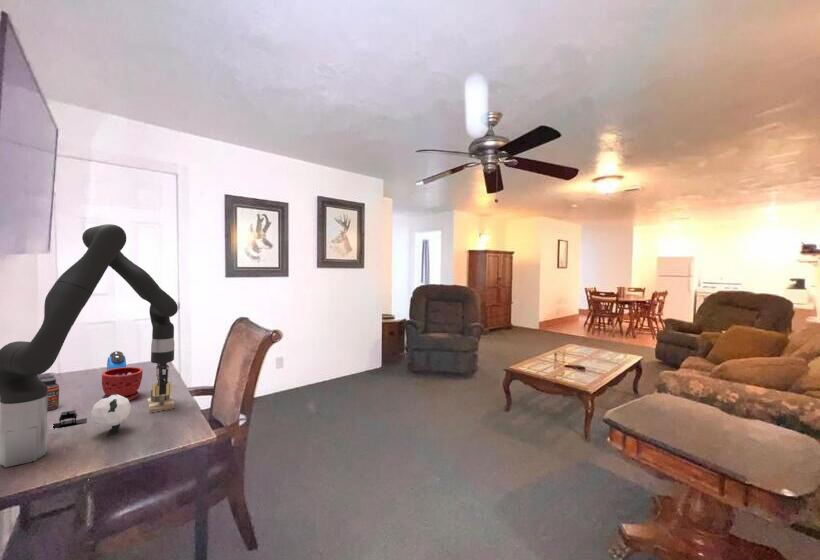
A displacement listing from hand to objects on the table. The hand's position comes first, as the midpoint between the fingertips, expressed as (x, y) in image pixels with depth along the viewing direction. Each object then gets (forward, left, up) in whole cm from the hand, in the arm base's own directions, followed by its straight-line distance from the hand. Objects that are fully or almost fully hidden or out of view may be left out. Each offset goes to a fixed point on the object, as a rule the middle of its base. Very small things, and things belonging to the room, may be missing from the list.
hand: (161, 391), depth 139 cm
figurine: (-15, +15, -7) cm, 23 cm away
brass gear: (0, 0, -1) cm, 1 cm away
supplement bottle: (+22, +34, -7) cm, 41 cm away
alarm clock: (+43, +14, -7) cm, 45 cm away
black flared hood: (+1, +27, -7) cm, 28 cm away
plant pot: (+20, +12, -7) cm, 24 cm away
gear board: (+4, 0, -7) cm, 7 cm away
